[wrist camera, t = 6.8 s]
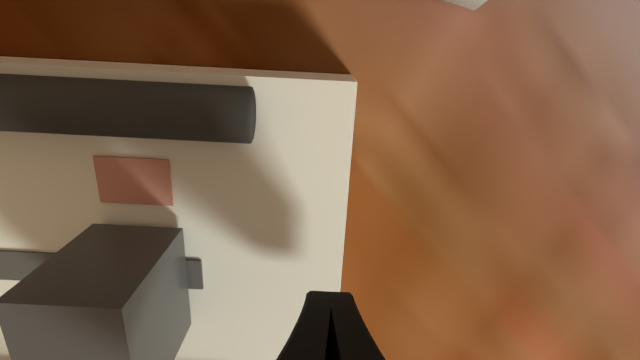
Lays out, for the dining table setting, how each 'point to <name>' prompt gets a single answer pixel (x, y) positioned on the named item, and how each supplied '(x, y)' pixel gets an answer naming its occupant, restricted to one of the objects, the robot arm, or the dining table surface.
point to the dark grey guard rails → (127, 108)
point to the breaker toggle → (102, 298)
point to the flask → (468, 3)
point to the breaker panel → (198, 199)
